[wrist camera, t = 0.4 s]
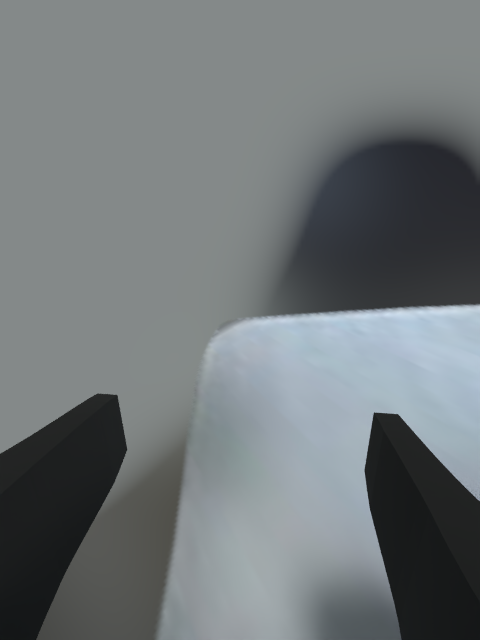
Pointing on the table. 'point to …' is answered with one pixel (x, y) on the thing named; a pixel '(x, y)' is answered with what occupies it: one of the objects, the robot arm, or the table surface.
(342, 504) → the table surface
